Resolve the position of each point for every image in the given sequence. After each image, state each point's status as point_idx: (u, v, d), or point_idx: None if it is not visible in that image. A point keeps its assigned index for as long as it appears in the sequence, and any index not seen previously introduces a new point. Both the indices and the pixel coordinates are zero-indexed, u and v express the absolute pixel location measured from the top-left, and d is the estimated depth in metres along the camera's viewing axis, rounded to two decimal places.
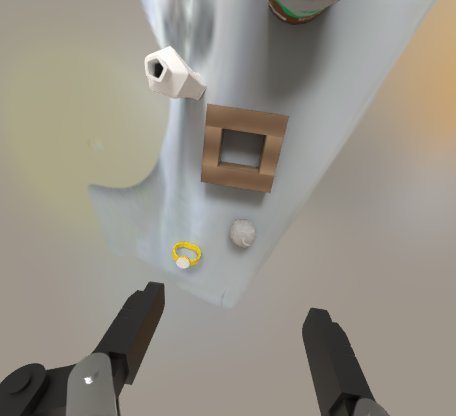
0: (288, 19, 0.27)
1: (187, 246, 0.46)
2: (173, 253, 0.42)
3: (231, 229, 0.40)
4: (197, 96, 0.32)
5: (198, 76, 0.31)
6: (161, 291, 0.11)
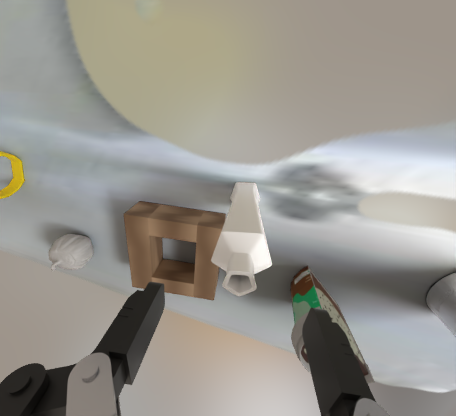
0: (294, 286, 0.30)
1: (15, 167, 0.28)
2: None
3: (70, 242, 0.29)
4: None
5: None
6: (161, 291, 0.11)
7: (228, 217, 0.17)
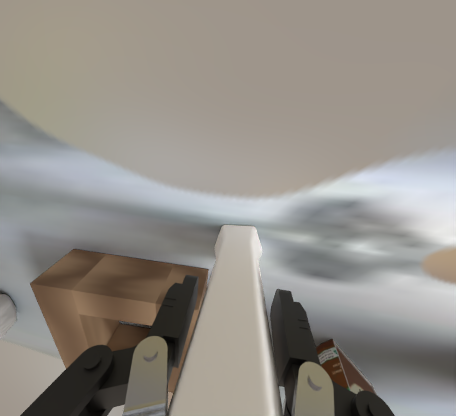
0: None
1: None
2: None
3: None
4: None
5: None
6: (196, 283, 0.11)
7: (188, 371, 0.07)
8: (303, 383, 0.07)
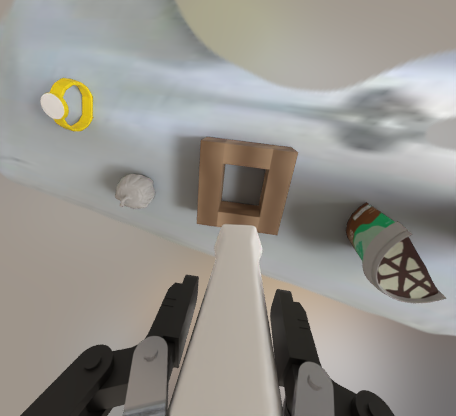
0: (353, 222, 0.31)
1: (86, 103, 0.28)
2: (64, 84, 0.24)
3: (137, 178, 0.29)
4: None
5: None
6: (197, 283, 0.11)
7: (188, 370, 0.07)
8: (303, 383, 0.07)
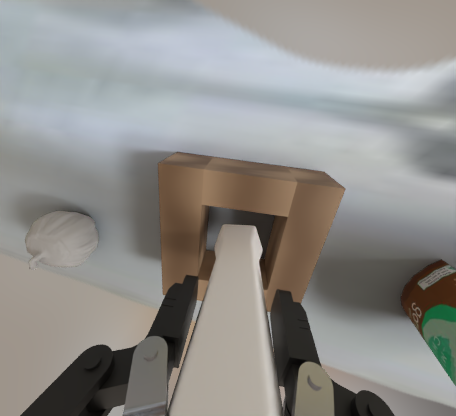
0: (420, 291, 0.19)
1: None
2: None
3: (61, 222, 0.17)
4: None
5: None
6: (197, 283, 0.11)
7: (188, 370, 0.07)
8: (303, 383, 0.07)
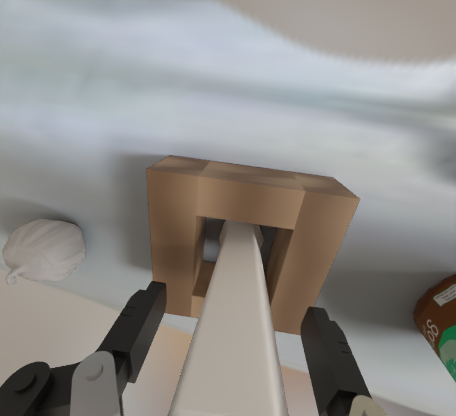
0: (437, 307, 0.17)
1: None
2: None
3: (42, 232, 0.16)
4: None
5: None
6: (163, 290, 0.11)
7: (201, 329, 0.08)
8: None
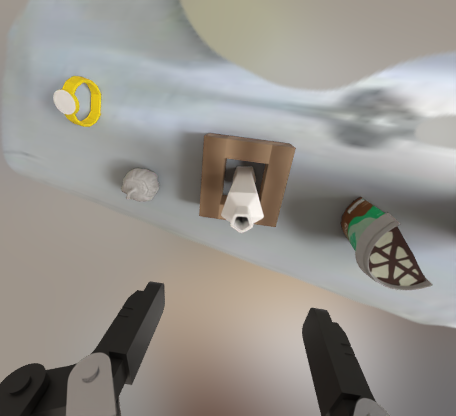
0: (348, 215, 0.32)
1: (94, 100, 0.30)
2: (75, 81, 0.25)
3: (143, 172, 0.31)
4: None
5: None
6: (161, 291, 0.11)
7: (232, 186, 0.23)
8: None
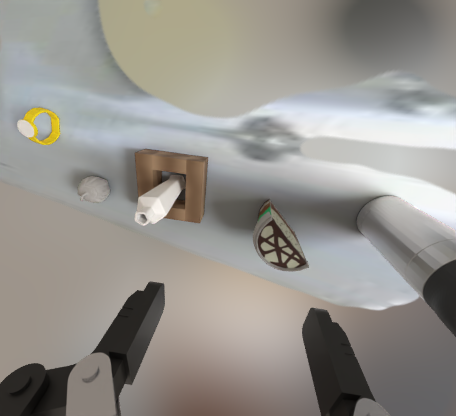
0: (259, 213, 0.40)
1: (54, 123, 0.38)
2: (34, 112, 0.33)
3: (94, 180, 0.39)
4: None
5: (182, 189, 0.40)
6: (161, 291, 0.11)
7: (148, 191, 0.31)
8: None
